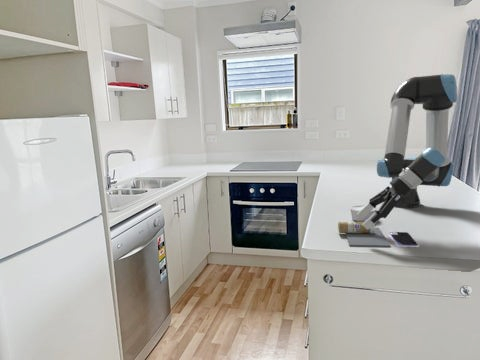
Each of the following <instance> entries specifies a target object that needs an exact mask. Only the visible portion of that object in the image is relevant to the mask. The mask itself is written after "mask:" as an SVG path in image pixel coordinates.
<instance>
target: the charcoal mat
mask: <svg viewBox="0 0 480 360" xmlns="http://www.w3.org/2000/svg"><path fill="white" fill-rule="evenodd" d="M344 235H345V238H346V240H347V243H348V246H349V247H365V248H366V247H368V248H370V247H371V248H372V247H373V248H376V247H377V248H391V247H392V246H391V244H390V242H389V241H388V239H387V237H385V235H384V233H383V232H382V230H381V229H380V227H375V233H374V234H369V233H344Z"/></svg>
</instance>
